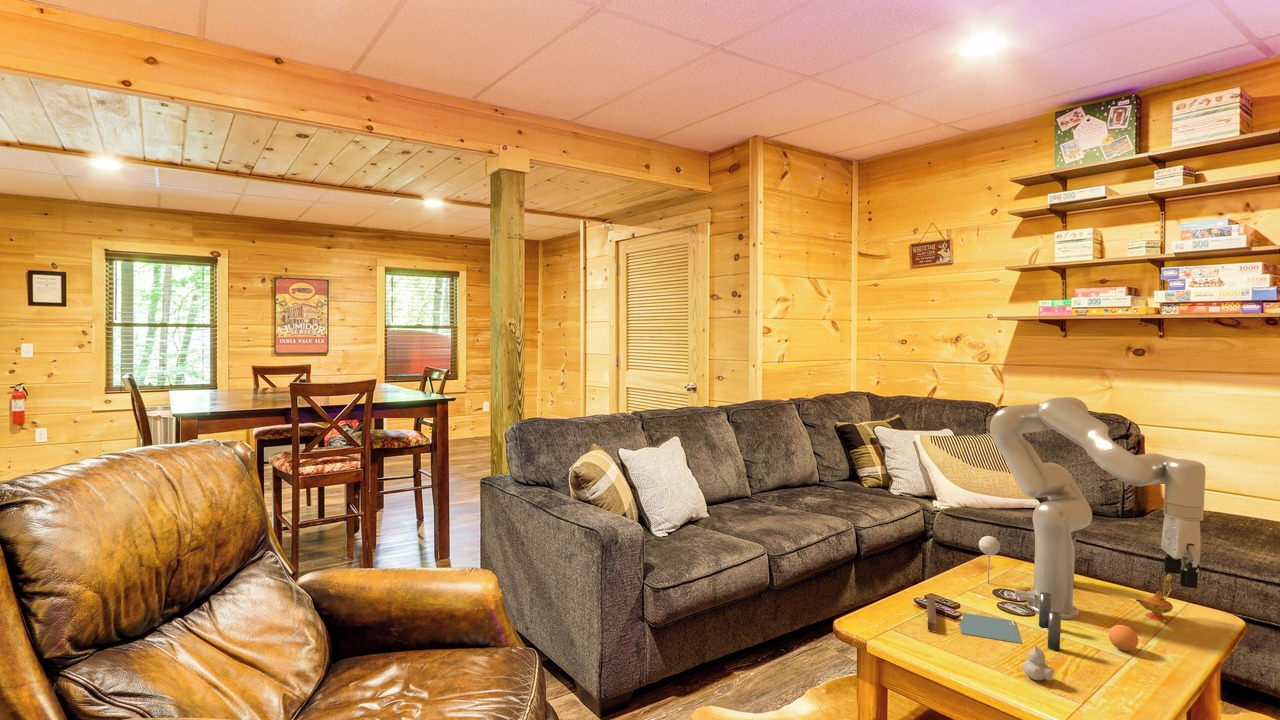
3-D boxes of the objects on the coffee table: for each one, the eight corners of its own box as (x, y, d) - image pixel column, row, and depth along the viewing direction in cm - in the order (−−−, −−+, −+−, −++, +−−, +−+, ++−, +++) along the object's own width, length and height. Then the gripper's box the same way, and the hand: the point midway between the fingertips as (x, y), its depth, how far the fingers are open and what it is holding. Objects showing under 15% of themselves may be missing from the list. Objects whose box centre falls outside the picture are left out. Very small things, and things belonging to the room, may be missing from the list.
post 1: (1039, 628, 177) (1040, 595, 176) (1038, 624, 179) (1039, 591, 179) (1050, 629, 176) (1052, 596, 175) (1049, 625, 178) (1050, 593, 178)
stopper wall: (927, 631, 174) (928, 622, 174) (927, 605, 191) (927, 596, 191) (936, 632, 174) (936, 623, 174) (934, 606, 190) (934, 597, 190)
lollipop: (990, 588, 204) (992, 540, 203) (973, 581, 209) (974, 535, 208) (1003, 584, 207) (1004, 537, 206) (985, 578, 212) (987, 532, 211)
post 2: (1048, 649, 165) (1049, 614, 164) (1046, 645, 167) (1047, 610, 167) (1060, 651, 164) (1062, 616, 163) (1058, 647, 166) (1060, 612, 166)
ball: (1111, 652, 164) (1112, 628, 163) (1105, 641, 169) (1106, 619, 169) (1141, 657, 161) (1142, 633, 161) (1133, 646, 167) (1134, 623, 167)
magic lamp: (1122, 620, 182) (1124, 581, 182) (1155, 607, 191) (1157, 570, 190) (1150, 630, 176) (1152, 589, 176) (1184, 616, 185) (1186, 578, 184)
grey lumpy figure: (1030, 670, 155) (1032, 636, 155) (1060, 683, 149) (1061, 649, 149) (1017, 675, 152) (1018, 642, 152) (1046, 689, 147) (1047, 654, 146)
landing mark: (960, 633, 173) (960, 632, 173) (957, 612, 186) (958, 611, 186) (1021, 643, 168) (1021, 643, 168) (1014, 621, 181) (1014, 620, 181)
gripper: (1151, 500, 170) (1149, 566, 171) (1178, 518, 154) (1175, 590, 155) (1187, 503, 167) (1184, 570, 168) (1218, 522, 151) (1215, 595, 152)
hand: (1180, 579), depth 161 cm, fingers open, 9 cm apart
